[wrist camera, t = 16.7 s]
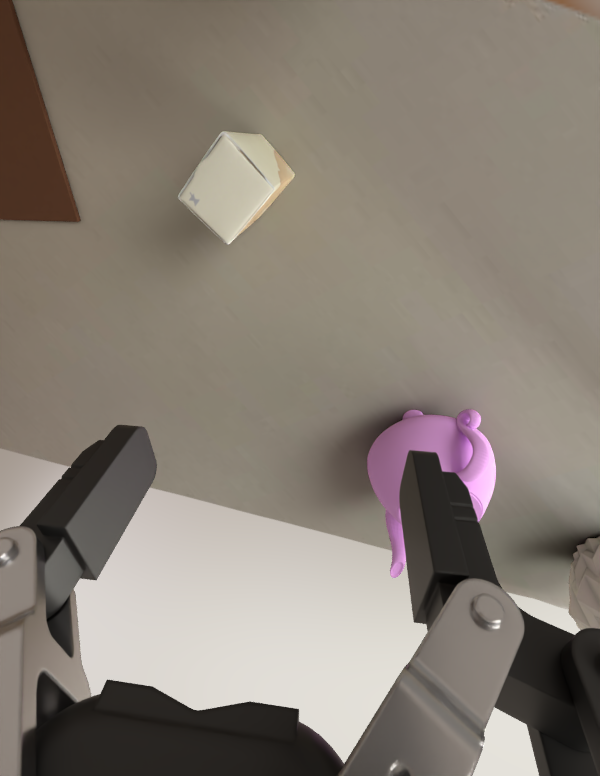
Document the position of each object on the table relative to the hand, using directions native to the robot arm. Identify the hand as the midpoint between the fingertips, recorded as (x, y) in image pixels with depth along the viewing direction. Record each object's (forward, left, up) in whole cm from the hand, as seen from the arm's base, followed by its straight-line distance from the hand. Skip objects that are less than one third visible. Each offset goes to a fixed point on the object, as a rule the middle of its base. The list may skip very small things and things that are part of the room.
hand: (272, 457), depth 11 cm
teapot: (+25, +13, -28) cm, 40 cm away
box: (-5, -6, -28) cm, 29 cm away
